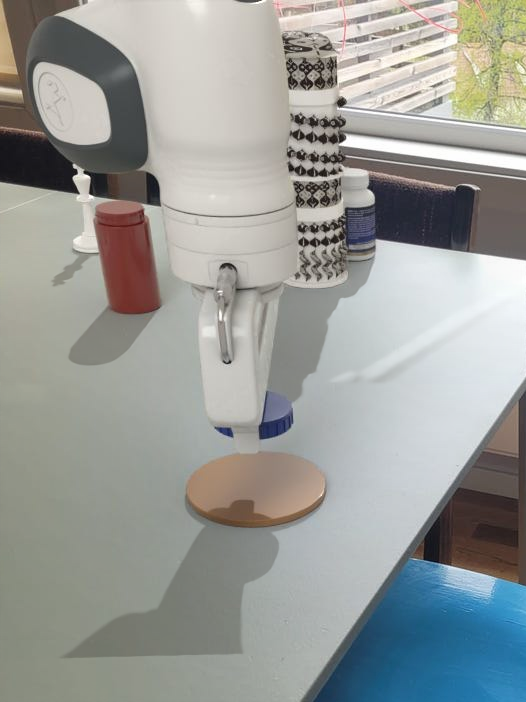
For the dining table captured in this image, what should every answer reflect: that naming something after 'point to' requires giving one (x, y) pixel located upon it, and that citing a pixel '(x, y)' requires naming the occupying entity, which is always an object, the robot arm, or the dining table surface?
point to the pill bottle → (358, 214)
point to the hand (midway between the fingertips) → (252, 426)
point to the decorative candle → (316, 158)
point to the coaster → (256, 489)
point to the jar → (127, 257)
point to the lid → (271, 417)
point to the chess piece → (85, 214)
